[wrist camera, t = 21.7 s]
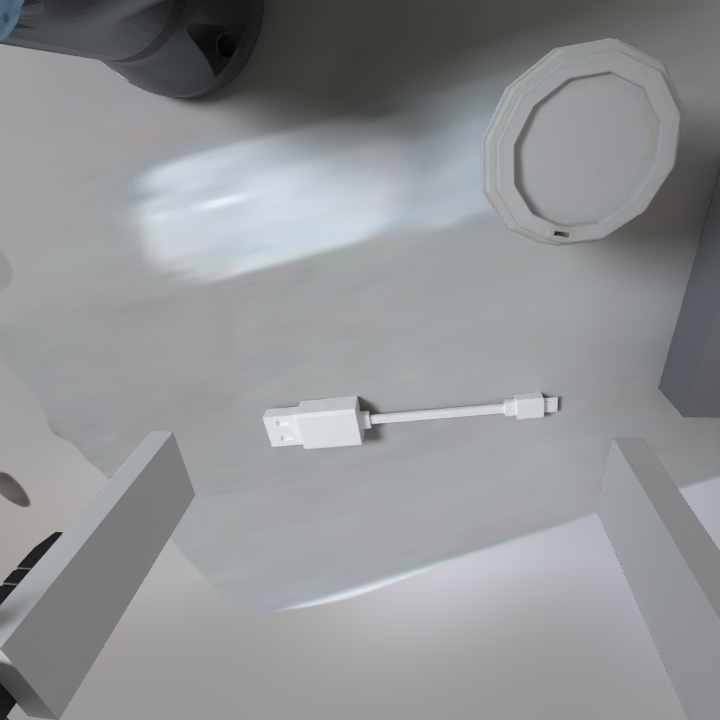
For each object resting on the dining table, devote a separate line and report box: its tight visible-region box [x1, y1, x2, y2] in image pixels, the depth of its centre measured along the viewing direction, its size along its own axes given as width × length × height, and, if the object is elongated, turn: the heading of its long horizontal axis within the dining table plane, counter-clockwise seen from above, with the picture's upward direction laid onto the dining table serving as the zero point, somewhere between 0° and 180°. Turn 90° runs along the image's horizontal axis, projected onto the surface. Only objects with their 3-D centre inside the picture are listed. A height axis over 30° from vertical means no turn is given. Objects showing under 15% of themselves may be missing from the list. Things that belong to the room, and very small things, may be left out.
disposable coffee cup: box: [481, 38, 684, 246], centre depth 30 cm, size 11×11×15 cm
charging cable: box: [263, 392, 558, 449], centre depth 50 cm, size 5×32×3 cm, turn 99°
